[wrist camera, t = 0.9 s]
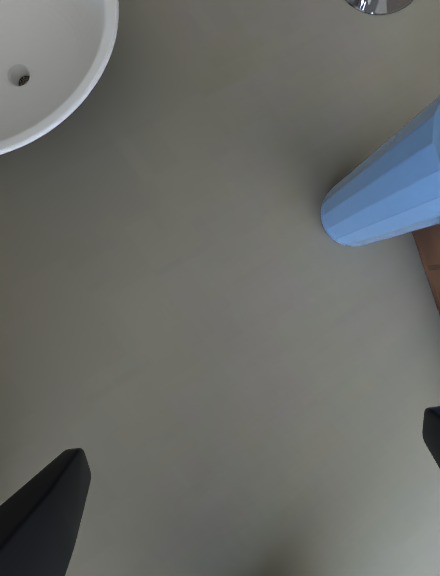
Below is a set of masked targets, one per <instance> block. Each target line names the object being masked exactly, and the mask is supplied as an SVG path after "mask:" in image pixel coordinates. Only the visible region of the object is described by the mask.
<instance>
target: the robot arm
mask: <svg viewBox="0 0 440 576" xmlns="http://www.w3.org/2000/svg"><path fill="white" fill-rule="evenodd" d="M422 433H423V439H424V442H425V444H426V446H427V447H428V449H429V451H430V452H431V454H432V456H433V458H434V459H435V461H436V463H437V465H438V466H439V468H440V406H437V407H429V408H426V410H425V411H424V420H423V432H422ZM90 480H91V472H90V468H89V465H88V462H87V459H86V456H85V453H84V450H83V449H81V448H75V449H68V450H65V451H64V452H62V453H61V454H60V455H59V456H58V457H57V458H55V459H54V460H53V461H52V462H51V463H50V464H48V465H47V466H46V467H45V468H44V469H43V470H42V471H40V472H39V473H38V474H37V475H36V476H35V477H33V478H32V479H31V480H30V481H29V482H28V483H26V484H25V485H24V486H23V487H22V488H21V489H19V490H18V491H17V492H16V493H15V494H14V495H13V496H11V497H10V498H9V499H8V500H7V501H6V502H4V503H3V504H2V505H1V506H0V576H65V574H66V571H67V568H68V565H69V562H70V559H71V556H72V552H73V549H74V546H75V542H76V538H77V534H78V530H79V526H80V522H81V518H82V514H83V510H84V506H85V501H86V497H87V493H88V489H89V485H90Z"/></svg>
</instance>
